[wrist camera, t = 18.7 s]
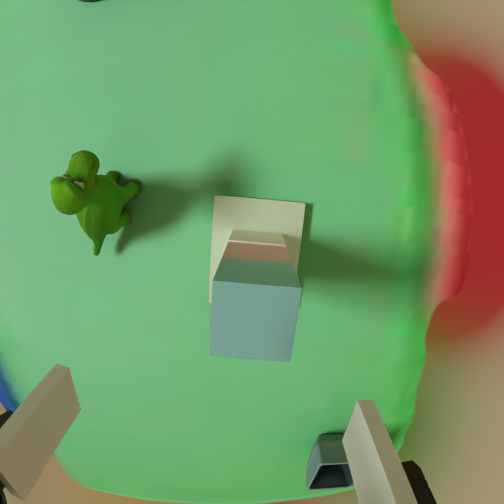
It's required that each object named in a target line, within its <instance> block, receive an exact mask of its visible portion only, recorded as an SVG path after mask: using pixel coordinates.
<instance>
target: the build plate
mask: <svg viewBox="0 0 504 504" xmlns="http://www.w3.org/2000/svg"><path fill="white" fill-rule="evenodd" d="M304 212H305V203H302V202H293V201H283V200H272V199H261V198H250V197H238V196H225V195H215V197H214V212H213V227H212V244H211V263H210V285H209V303H212V282H213V278H214V276H215V273H216V271H217V268H218V266H219V263H220V261H221V258H222V256H223V253H224V251H225V248H226V246H227V244H228V242H239V243H251V244H262V245H274V246H285V247H286V248H287V250H288V253H289V255H290V258H291V261H292V263H293V266H294V268H295V271H296V274H297V270H298V262H299V254H300V246H301V238H302V229H303V221H304Z"/></svg>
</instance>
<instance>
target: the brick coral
mask: <svg viewBox="0 0 504 504" xmlns="http://www.w3.org/2000/svg"><path fill="white" fill-rule="evenodd" d="M222 257H229V258H241V259H252V260H264V261H276V262H288V263H292V261H291V258H290V255H289V253H288V250H287V248H286V247H285V246H274V245H262V244H251V243H239V242H228V244H227V246H226V248H225V251H224V253H223V256H222Z"/></svg>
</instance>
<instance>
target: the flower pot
mask: <svg viewBox="0 0 504 504" xmlns="http://www.w3.org/2000/svg"><path fill="white" fill-rule="evenodd" d="M343 437H344V434H327V435H325V434H322V435H319V436H318V438H317V441H316V443H315V446H314V448H313V450H312V452H311V455H310V457H309V460H308V464H307V472H306V482H307V484H306V486H307V490H324V489H338V488H349V487H352V486H353V485H354V482H353V479H352V475H351V471H350V467H349V464H348V460H347V456H346V453H345V449H344V446H343V442H342V439H343Z"/></svg>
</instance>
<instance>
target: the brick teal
mask: <svg viewBox="0 0 504 504" xmlns="http://www.w3.org/2000/svg"><path fill="white" fill-rule="evenodd" d="M301 291H302V287H301V284H300V281H299V279H298V276H297V274H296V271H295V268H294V266H293V263H288V262H276V261H264V260H252V259H241V258H229V257H222V258H221V261H220V263H219V266H218V268H217V271H216V273H215V276H214V278H213V282H212V305H211V332H210V356H219V357H230V358H241V359H253V360H267V361H285V362H290V359H291V354H292V348H293V342H294V336H295V330H296V324H297V318H298V311H299V305H300V298H301Z"/></svg>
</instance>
